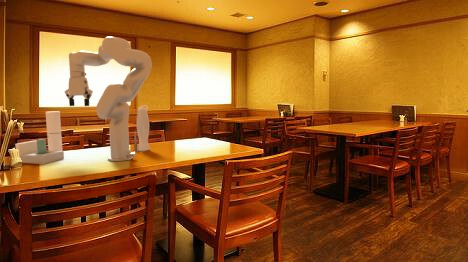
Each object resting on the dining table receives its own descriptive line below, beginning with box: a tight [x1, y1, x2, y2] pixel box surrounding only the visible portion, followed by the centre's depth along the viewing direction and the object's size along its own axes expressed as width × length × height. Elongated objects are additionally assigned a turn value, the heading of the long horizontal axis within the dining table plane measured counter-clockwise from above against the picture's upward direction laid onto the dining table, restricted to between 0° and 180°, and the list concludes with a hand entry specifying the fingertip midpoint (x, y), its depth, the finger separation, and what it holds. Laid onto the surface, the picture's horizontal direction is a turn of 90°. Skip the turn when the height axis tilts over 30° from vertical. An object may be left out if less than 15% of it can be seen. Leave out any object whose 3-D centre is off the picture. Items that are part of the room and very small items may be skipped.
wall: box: [14, 139, 38, 156], centre depth 169 cm, size 2×14×10 cm, turn 168°
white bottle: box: [133, 104, 151, 153], centre depth 196 cm, size 8×8×28 cm
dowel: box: [36, 138, 48, 154], centre depth 167 cm, size 4×4×10 cm
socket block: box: [20, 149, 65, 165], centre depth 167 cm, size 14×14×4 cm
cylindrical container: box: [45, 110, 64, 151], centre depth 185 cm, size 7×7×25 cm
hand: (79, 105), depth 179 cm, fingers open, 9 cm apart
